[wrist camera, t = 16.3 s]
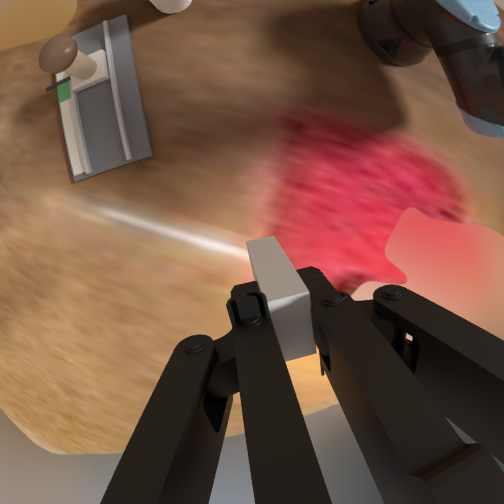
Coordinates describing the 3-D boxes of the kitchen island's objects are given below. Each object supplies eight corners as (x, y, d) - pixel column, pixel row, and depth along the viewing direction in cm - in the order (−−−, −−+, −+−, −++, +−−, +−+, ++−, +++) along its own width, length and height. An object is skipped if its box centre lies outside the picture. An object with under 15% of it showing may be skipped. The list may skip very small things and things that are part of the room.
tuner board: (128, 17, 34) (123, 11, 32) (153, 155, 43) (150, 156, 41) (56, 47, 34) (49, 44, 31) (78, 181, 43) (71, 183, 40)
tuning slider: (106, 52, 35) (74, 26, 23) (110, 79, 37) (77, 59, 25) (49, 77, 34) (8, 64, 23) (52, 104, 36) (9, 96, 24)
